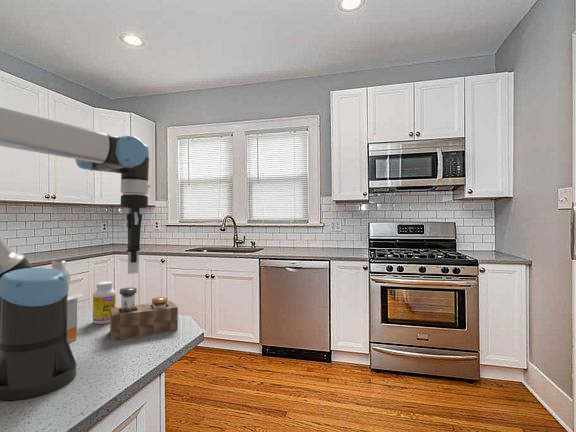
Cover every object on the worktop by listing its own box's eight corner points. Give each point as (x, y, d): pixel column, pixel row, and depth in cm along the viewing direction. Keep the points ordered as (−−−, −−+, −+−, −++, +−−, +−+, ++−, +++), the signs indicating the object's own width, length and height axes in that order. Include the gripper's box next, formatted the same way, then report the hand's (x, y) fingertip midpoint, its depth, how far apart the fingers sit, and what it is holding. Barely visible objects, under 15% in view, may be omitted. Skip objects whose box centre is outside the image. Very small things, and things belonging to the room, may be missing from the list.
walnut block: (171, 321, 114) (171, 300, 114) (177, 329, 106) (177, 307, 106) (110, 331, 105) (110, 308, 105) (112, 340, 97) (112, 315, 97)
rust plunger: (168, 327, 107) (168, 299, 107) (153, 329, 105) (153, 301, 105) (165, 323, 111) (165, 296, 111) (150, 325, 109) (150, 298, 109)
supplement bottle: (101, 325, 110) (101, 285, 110) (88, 322, 113) (88, 283, 113) (120, 320, 116) (120, 281, 116) (106, 317, 119) (106, 280, 119)
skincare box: (59, 347, 92) (59, 302, 92) (46, 345, 93) (46, 301, 93) (77, 339, 98) (78, 297, 98) (65, 337, 99) (65, 296, 99)
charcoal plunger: (137, 318, 102) (137, 289, 102) (120, 321, 100) (120, 291, 100) (135, 314, 106) (135, 286, 106) (118, 317, 104) (119, 288, 104)
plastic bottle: (41, 323, 112) (42, 261, 112) (63, 317, 118) (63, 259, 118) (53, 326, 109) (53, 263, 109) (74, 320, 115) (74, 260, 115)
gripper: (151, 194, 100) (149, 275, 100) (144, 196, 111) (143, 269, 111) (122, 192, 96) (120, 277, 96) (119, 195, 108) (117, 270, 107)
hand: (132, 273), depth 104 cm, fingers closed
